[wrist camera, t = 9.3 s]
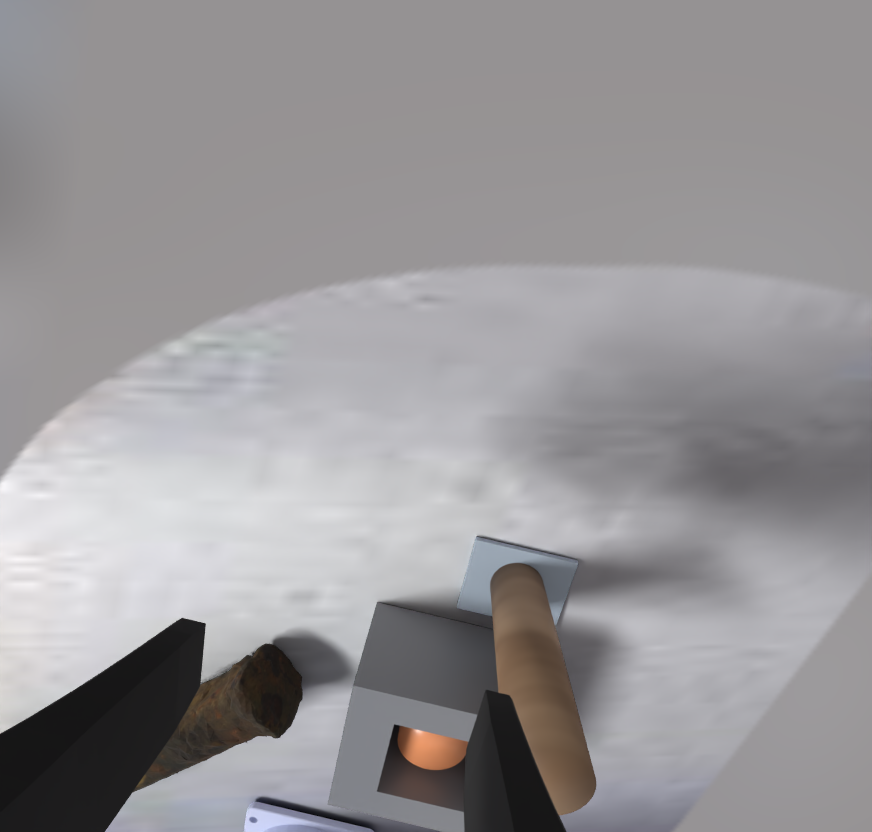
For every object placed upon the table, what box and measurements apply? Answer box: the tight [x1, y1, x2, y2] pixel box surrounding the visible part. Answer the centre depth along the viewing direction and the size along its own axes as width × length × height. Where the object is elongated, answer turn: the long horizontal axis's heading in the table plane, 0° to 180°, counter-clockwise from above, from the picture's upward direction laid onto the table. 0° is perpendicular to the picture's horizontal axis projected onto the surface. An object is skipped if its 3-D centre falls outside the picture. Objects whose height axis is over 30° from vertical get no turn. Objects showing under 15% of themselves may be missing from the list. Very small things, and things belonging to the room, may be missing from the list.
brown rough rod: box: [133, 644, 303, 792], centre depth 24 cm, size 19×4×5 cm, turn 119°
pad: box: [457, 537, 578, 627], centre depth 22 cm, size 4×5×1 cm
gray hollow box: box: [328, 602, 499, 832], centre depth 21 cm, size 7×8×5 cm
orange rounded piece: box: [398, 726, 468, 770], centre depth 21 cm, size 3×3×2 cm
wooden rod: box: [490, 563, 596, 815], centre depth 17 cm, size 3×3×9 cm
